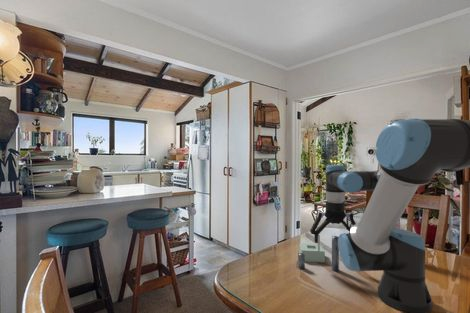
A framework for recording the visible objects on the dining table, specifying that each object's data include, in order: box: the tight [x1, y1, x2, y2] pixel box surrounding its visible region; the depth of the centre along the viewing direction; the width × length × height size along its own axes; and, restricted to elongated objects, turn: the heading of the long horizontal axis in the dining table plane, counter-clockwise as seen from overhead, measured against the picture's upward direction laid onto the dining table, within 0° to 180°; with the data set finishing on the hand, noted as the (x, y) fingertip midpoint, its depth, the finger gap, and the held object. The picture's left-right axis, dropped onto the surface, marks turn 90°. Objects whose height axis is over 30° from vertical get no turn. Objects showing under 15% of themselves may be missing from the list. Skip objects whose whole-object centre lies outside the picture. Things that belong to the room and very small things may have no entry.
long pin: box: [331, 235, 340, 272], centre depth 106 cm, size 3×3×14 cm
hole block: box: [299, 242, 326, 263], centre depth 119 cm, size 10×10×5 cm
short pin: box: [297, 252, 306, 270], centre depth 108 cm, size 3×3×6 cm
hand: (335, 251), depth 107 cm, fingers open, 13 cm apart
